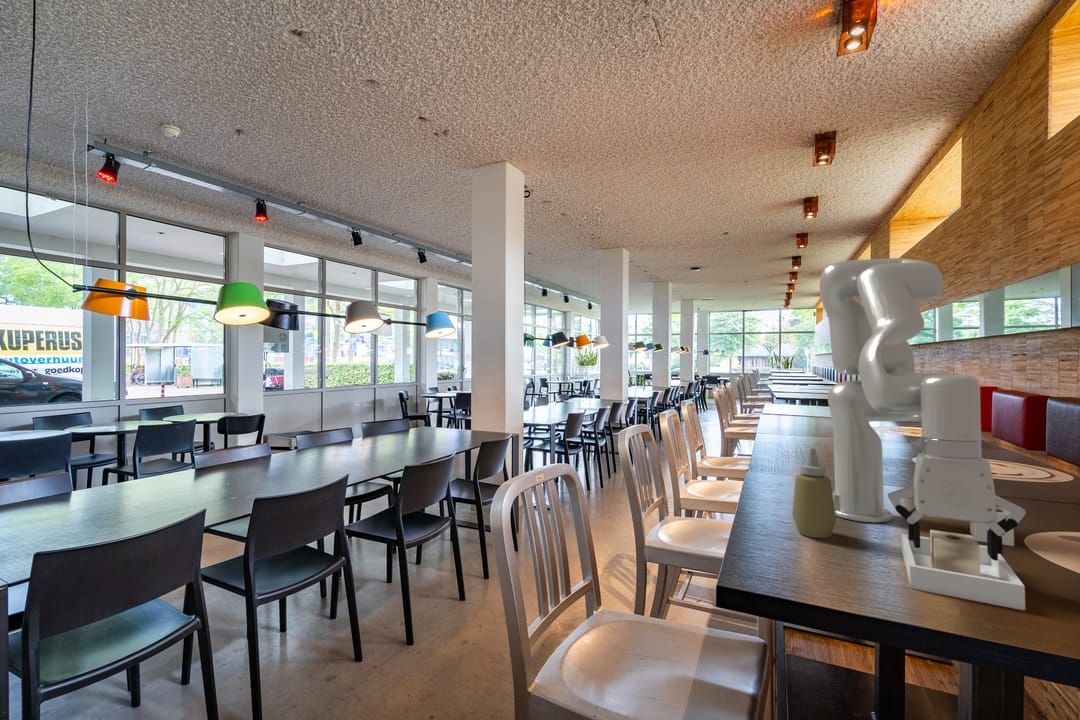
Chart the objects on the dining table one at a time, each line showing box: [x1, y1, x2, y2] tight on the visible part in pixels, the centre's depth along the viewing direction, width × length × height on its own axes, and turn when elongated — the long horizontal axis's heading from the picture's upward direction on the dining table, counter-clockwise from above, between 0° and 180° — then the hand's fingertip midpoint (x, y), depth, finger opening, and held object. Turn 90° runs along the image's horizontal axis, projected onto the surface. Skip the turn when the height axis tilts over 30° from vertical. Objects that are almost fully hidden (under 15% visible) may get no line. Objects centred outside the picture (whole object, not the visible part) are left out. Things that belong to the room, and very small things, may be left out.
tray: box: [900, 533, 1026, 611], centre depth 78 cm, size 13×17×4 cm
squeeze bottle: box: [792, 447, 837, 539], centre depth 99 cm, size 8×8×18 cm
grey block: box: [969, 506, 1015, 547], centre depth 95 cm, size 6×6×6 cm
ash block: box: [929, 529, 980, 576], centre depth 78 cm, size 6×6×6 cm
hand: (953, 551), depth 78 cm, fingers open, 9 cm apart
